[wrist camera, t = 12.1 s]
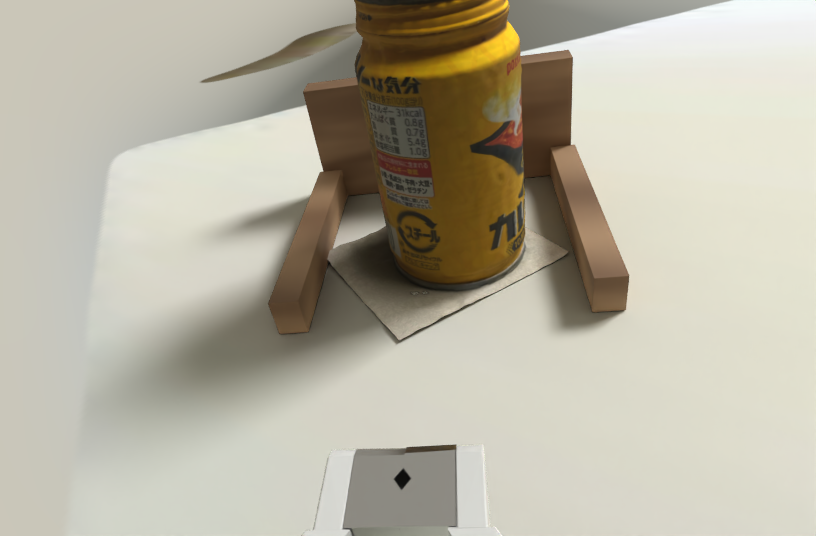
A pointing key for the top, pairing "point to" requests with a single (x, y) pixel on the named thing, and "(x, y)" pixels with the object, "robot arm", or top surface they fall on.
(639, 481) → the top surface
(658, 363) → the top surface
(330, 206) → the corral
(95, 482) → the top surface
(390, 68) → the condiment
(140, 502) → the top surface
